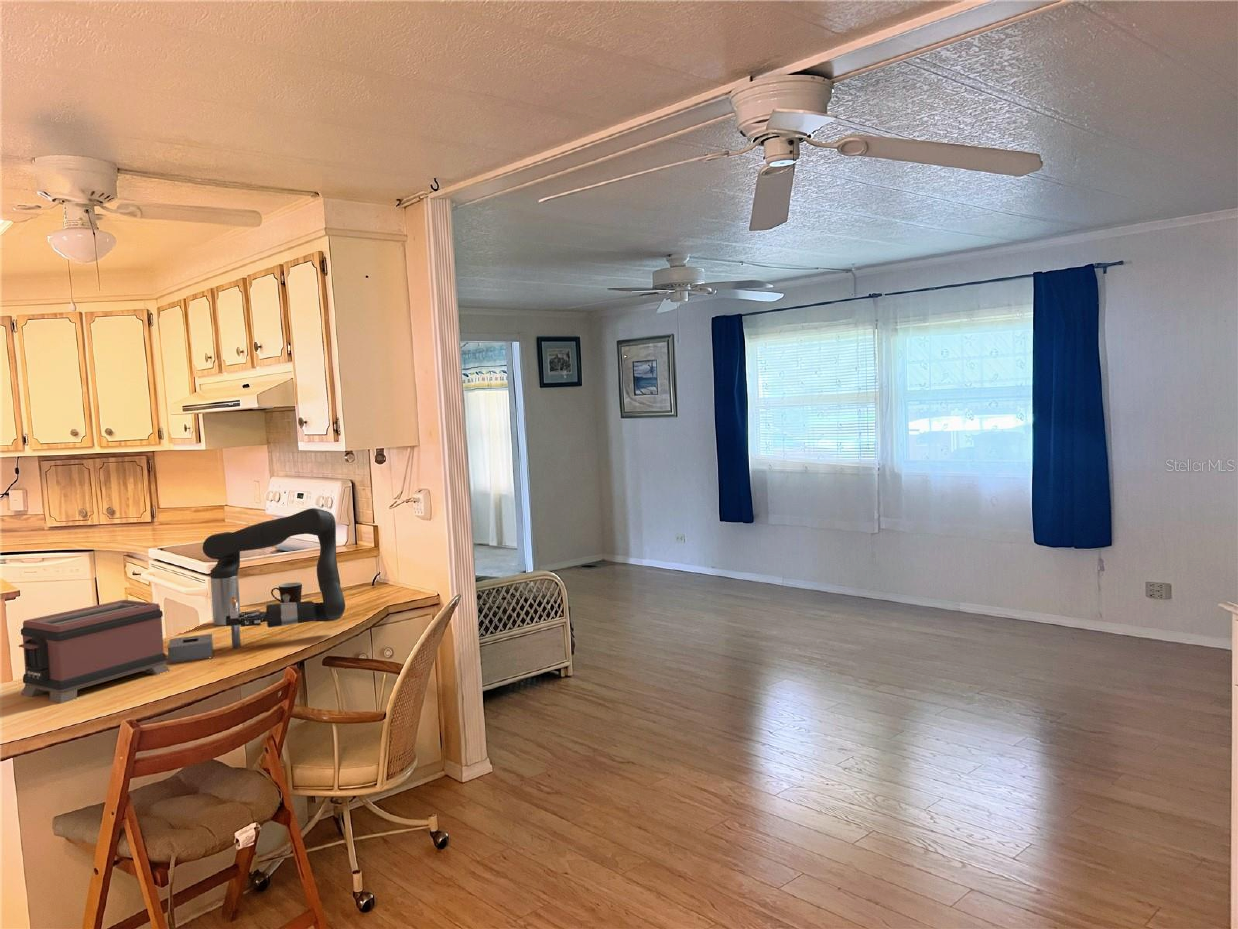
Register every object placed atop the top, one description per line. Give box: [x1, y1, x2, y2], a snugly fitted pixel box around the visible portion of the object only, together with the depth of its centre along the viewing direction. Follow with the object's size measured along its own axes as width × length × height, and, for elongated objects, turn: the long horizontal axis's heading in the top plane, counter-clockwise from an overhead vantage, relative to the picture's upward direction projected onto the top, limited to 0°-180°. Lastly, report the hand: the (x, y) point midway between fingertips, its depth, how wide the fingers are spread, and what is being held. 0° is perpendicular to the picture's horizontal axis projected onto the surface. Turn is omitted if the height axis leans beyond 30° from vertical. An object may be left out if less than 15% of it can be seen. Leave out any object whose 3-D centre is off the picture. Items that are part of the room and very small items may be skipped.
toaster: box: [18, 599, 171, 705], centre depth 240 cm, size 19×34×21 cm, turn 152°
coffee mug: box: [270, 581, 303, 603], centre depth 330 cm, size 12×9×10 cm
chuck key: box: [230, 597, 242, 649], centre depth 275 cm, size 6×3×16 cm, turn 25°
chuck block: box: [167, 633, 214, 665], centre depth 267 cm, size 12×12×5 cm
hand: (226, 621), depth 274 cm, fingers open, 5 cm apart
